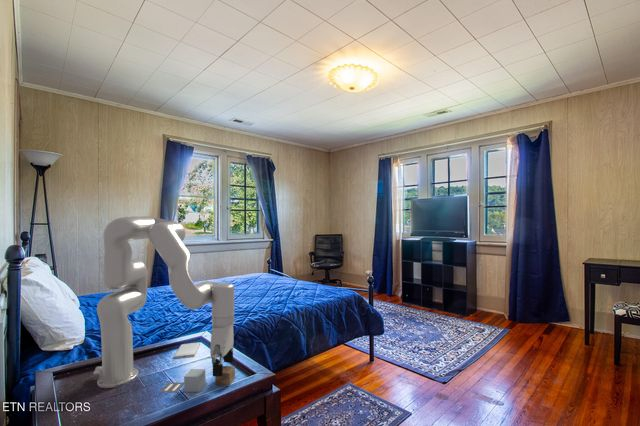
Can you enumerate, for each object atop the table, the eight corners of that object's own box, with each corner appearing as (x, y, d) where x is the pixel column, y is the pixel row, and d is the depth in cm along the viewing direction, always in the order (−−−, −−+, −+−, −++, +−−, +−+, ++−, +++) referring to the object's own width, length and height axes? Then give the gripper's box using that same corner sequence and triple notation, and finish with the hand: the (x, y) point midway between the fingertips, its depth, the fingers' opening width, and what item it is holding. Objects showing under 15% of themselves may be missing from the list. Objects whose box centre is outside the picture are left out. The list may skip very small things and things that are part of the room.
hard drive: (181, 344, 142) (173, 356, 130) (200, 342, 144) (194, 353, 132) (181, 347, 142) (173, 360, 130) (200, 345, 144) (194, 357, 132)
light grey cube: (184, 391, 104) (184, 376, 104) (191, 383, 109) (191, 369, 109) (199, 391, 103) (198, 376, 103) (205, 383, 108) (205, 369, 108)
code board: (152, 397, 102) (152, 395, 102) (169, 381, 112) (169, 379, 112) (200, 398, 101) (200, 396, 101) (213, 381, 111) (213, 379, 111)
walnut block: (215, 387, 107) (215, 373, 107) (221, 380, 112) (221, 366, 112) (229, 388, 107) (229, 373, 107) (235, 380, 112) (234, 366, 112)
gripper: (222, 311, 118) (222, 356, 118) (201, 328, 101) (201, 381, 101) (241, 312, 118) (241, 357, 118) (224, 329, 101) (224, 382, 101)
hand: (223, 368), depth 110 cm, fingers open, 9 cm apart
